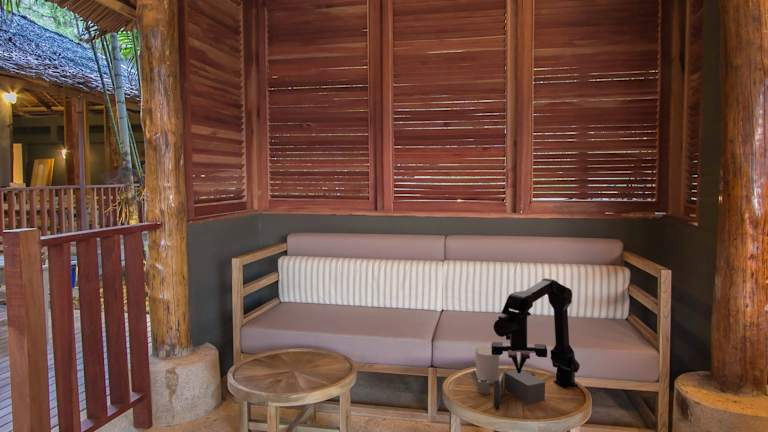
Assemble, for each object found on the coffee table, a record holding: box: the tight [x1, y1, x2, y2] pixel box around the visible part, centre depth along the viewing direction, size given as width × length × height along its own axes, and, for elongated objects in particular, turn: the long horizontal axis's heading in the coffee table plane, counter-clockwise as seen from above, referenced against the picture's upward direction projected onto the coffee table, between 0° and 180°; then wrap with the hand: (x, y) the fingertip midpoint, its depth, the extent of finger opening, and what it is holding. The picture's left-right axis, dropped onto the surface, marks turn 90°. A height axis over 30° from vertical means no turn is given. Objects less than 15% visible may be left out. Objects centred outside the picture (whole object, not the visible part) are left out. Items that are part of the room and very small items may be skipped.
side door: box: [493, 372, 504, 408], centre depth 190 cm, size 2×17×10 cm, turn 160°
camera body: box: [503, 368, 546, 405], centre depth 193 cm, size 9×14×7 cm, turn 24°
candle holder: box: [474, 345, 501, 385], centre depth 207 cm, size 10×10×12 cm
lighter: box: [469, 369, 490, 395], centre depth 196 cm, size 7×2×8 cm, turn 69°
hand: (518, 372), depth 183 cm, fingers closed
